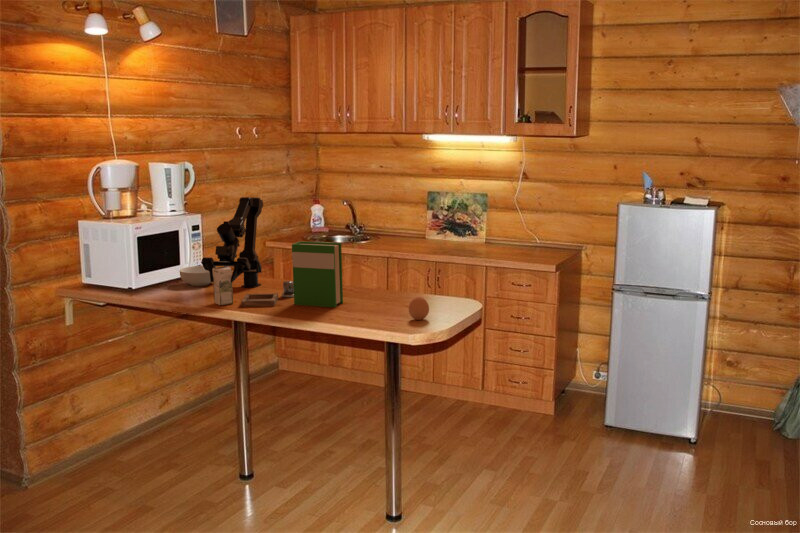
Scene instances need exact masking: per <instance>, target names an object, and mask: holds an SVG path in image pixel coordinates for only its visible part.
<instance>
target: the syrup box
mask: <svg viewBox="0 0 800 533" xmlns="http://www.w3.org/2000/svg"><path fill="white" fill-rule="evenodd" d="M232 270H233V269H232V267H230V266H217V268H213V282H212V283H213V284H212V285H213V302H214V304H215V303H216V305H217V304H218V306H220V305H221V306H226V305H231V304H232V305H233V304H234V293H233V292H234V290H233V282H232V283H231V277H232V274H233V271H232Z"/></svg>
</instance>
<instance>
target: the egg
mask: <svg viewBox="0 0 800 533" xmlns="http://www.w3.org/2000/svg"><path fill="white" fill-rule="evenodd" d="M408 313H409V315H410V316H411V318H412V319H414V320H416V321H422V320H424V319H426V318H427V316H428V315H429V313H430V306H429V303H428V302H427V300H426V298H424V296H423V297H422V296H419V295H418V296H415V297H413V298H412V299H411V301H410V302H409V305H408Z"/></svg>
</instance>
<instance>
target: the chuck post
mask: <svg viewBox="0 0 800 533" xmlns="http://www.w3.org/2000/svg"><path fill="white" fill-rule="evenodd" d="M282 286H283V290H282V291H283V292H282V293H281V297H282V298H284V299H285V298H286V299H292V298H294V287H293V280H285V281H283V283H282Z"/></svg>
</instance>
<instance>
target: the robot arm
mask: <svg viewBox="0 0 800 533" xmlns="http://www.w3.org/2000/svg"><path fill="white" fill-rule="evenodd" d="M263 206H264V202H263V200H262V199H261V197H251V196H250V197H249V196H247V197H245V196H244V197H243V196H242V197H240V198H239V202H238V206H237V208H236V210H235V213H234V215H233V217H232V218H231V219H230V220H228V221H223V223H221V224H220V225H219V226H218V227H216V232H217V234H218V237H219V238H220V241H222V242H223V245H216V246H215V250H214V251H215V252H214V253H215V255H216V256H217V260H214V258H213V257H212V256H211V257H207V256H206V257H205V256H204V257H203V258H202V259H201V261H200V263H201V266H203V267H204V269H205V270H208V271H209V272H210V280H211V283H213V268H216V267H225V266H226V267H230V268H232V267H233V269H232V270H233V271H232V277H231V283H232V284H233V283H234V281H235V280H236V279H237V278H238V277H239V276H240V275H242V274H243V284H242V285H240V288H241V287H242V288H252V289H253V288H254V289H255V288H257V287H259V286H261V285H262V284H261V283H259V274H260V273H262V269H263V268H262V265H261V262H260V260H259V256H258V254H257V252H256V241H257V240H256V238H257V227H258V225H257V224H258V218H259V217H260V215H261V214H262V209H263ZM242 237H244V244H243V250H242V251H240V252H239V255H238V254H237V252H238V250H239V249H238V248H239V247H240V246H241V245H240V240H239V238H242ZM236 258H237V259H236Z"/></svg>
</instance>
